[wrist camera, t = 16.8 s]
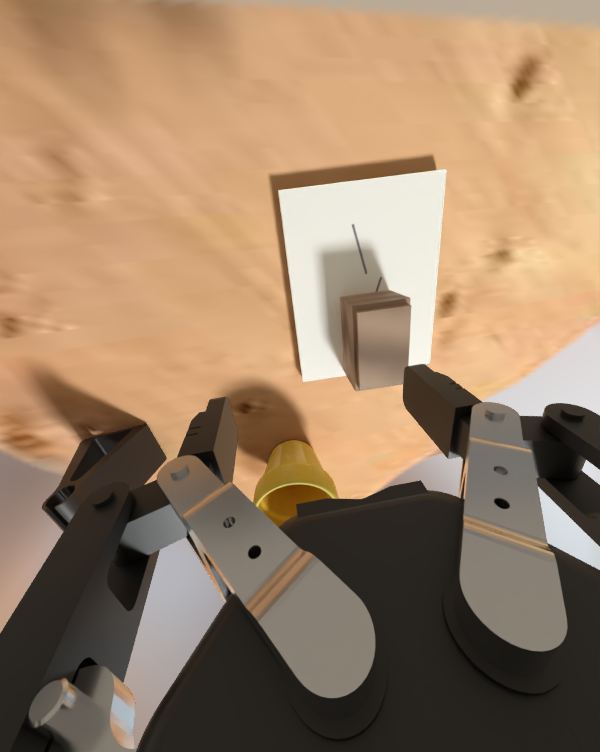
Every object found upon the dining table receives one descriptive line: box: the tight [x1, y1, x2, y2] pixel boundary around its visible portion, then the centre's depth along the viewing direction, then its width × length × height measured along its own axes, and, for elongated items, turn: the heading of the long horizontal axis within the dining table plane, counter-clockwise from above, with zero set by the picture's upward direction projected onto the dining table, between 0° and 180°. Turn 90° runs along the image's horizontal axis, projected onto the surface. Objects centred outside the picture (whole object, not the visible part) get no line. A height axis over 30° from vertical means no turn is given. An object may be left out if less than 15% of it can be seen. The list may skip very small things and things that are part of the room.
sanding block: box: [340, 290, 411, 391], centre depth 30 cm, size 9×6×6 cm, turn 7°
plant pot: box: [253, 440, 339, 527], centre depth 37 cm, size 10×10×10 cm
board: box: [278, 169, 447, 382], centre depth 31 cm, size 20×16×2 cm
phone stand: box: [42, 424, 167, 532], centre depth 33 cm, size 9×6×12 cm, turn 103°
